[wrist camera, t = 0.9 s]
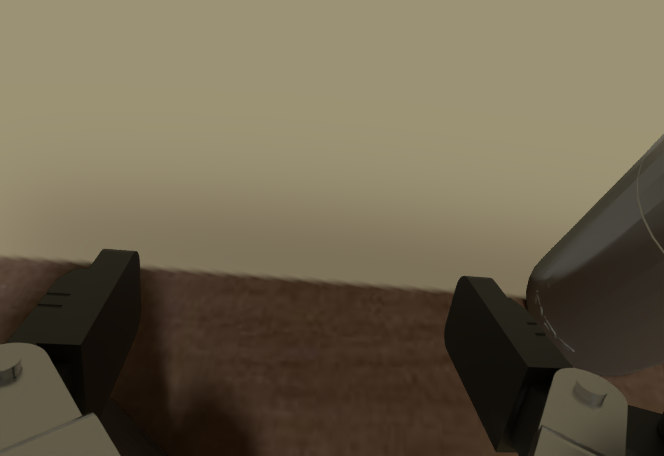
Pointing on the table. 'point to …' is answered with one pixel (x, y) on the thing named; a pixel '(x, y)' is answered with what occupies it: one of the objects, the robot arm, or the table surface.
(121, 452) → the grey box with base
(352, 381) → the table surface
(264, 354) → the table surface
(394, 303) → the table surface
